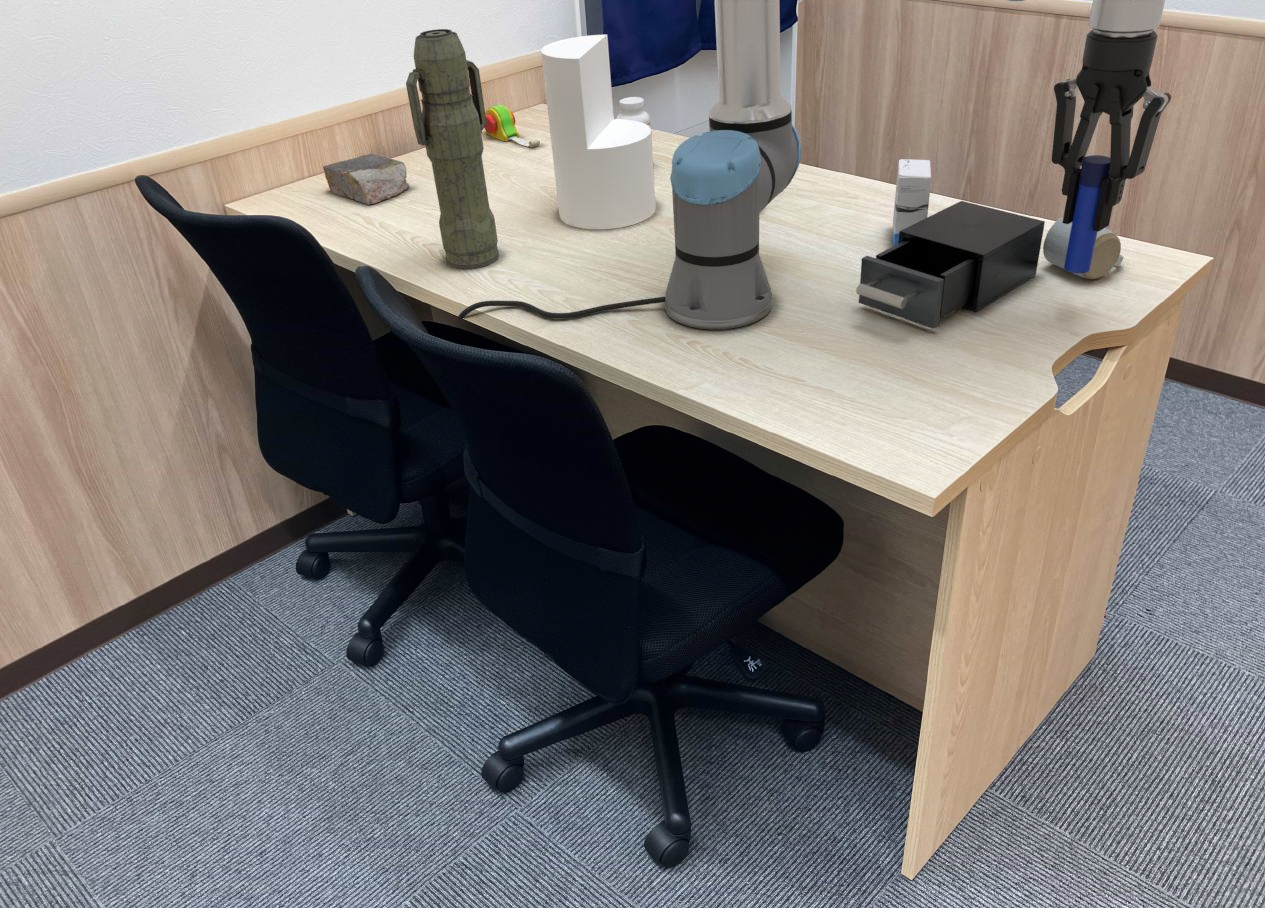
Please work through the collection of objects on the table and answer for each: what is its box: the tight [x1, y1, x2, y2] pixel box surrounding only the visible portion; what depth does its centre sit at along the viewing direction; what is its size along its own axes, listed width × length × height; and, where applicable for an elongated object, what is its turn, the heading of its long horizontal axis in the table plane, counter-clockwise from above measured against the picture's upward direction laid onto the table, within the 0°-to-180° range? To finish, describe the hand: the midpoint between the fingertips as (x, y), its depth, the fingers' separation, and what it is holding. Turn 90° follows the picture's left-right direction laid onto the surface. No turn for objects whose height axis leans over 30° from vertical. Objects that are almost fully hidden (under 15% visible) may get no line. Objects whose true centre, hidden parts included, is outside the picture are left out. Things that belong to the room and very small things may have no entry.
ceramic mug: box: [1042, 215, 1125, 280], centre depth 143 cm, size 11×8×8 cm
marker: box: [1063, 154, 1110, 274], centre depth 127 cm, size 3×3×14 cm
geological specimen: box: [322, 153, 410, 206], centre depth 195 cm, size 11×6×15 cm
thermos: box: [405, 28, 500, 270], centre depth 154 cm, size 9×12×35 cm
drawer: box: [856, 239, 979, 330], centre depth 136 cm, size 19×12×7 cm, turn 132°
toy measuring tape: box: [484, 104, 541, 148], centre depth 217 cm, size 6×19×7 cm, turn 40°
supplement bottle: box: [615, 96, 651, 128], centre depth 194 cm, size 7×7×13 cm
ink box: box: [891, 158, 932, 247], centre depth 155 cm, size 8×5×12 cm, turn 168°
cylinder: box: [540, 34, 657, 231], centre depth 170 cm, size 17×17×28 cm
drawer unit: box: [898, 200, 1046, 313], centre depth 142 cm, size 15×13×8 cm
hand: (1085, 223), depth 128 cm, fingers closed on marker, 3 cm apart
